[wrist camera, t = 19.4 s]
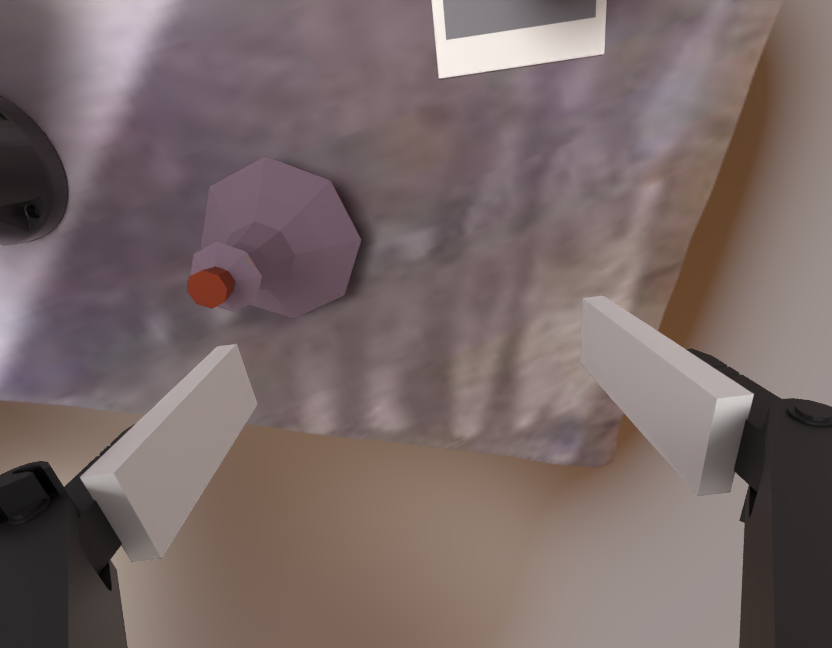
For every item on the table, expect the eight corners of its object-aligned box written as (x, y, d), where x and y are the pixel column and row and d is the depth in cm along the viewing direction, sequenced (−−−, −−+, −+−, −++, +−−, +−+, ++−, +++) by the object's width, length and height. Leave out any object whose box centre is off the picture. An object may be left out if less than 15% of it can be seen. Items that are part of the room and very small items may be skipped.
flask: (235, 309, 46) (121, 404, 28) (200, 160, 40) (22, 155, 21) (371, 302, 46) (349, 392, 28) (358, 153, 40) (317, 142, 21)
